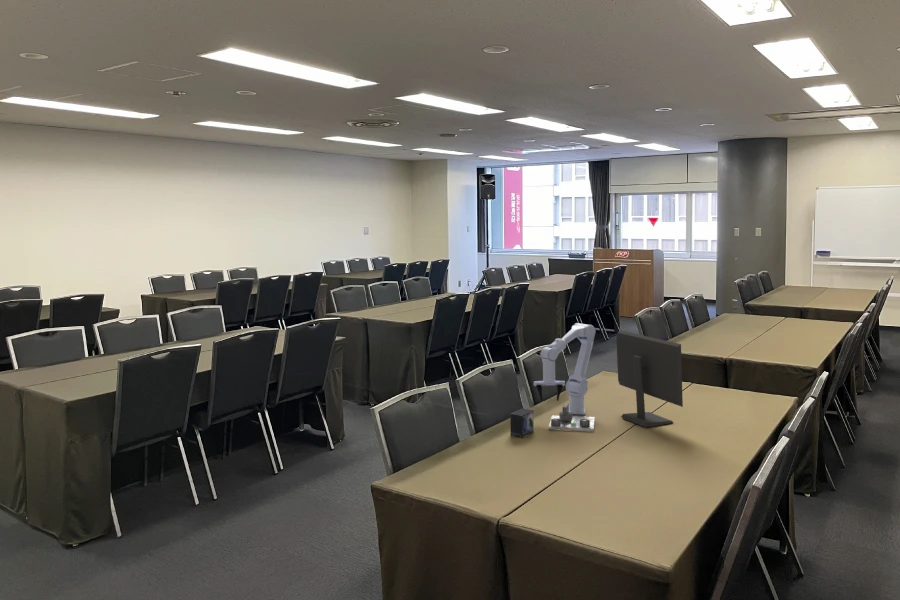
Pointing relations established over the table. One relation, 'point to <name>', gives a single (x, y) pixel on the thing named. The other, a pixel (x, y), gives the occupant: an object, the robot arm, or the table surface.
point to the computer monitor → (649, 373)
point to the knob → (565, 413)
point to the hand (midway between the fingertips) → (549, 400)
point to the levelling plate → (578, 428)
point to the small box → (521, 423)
